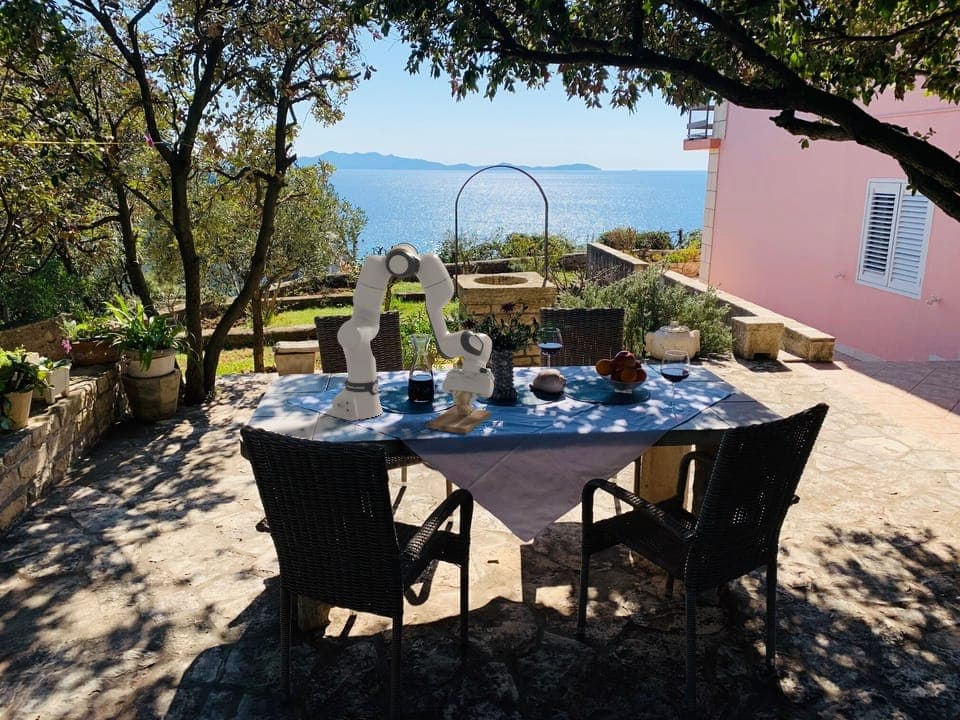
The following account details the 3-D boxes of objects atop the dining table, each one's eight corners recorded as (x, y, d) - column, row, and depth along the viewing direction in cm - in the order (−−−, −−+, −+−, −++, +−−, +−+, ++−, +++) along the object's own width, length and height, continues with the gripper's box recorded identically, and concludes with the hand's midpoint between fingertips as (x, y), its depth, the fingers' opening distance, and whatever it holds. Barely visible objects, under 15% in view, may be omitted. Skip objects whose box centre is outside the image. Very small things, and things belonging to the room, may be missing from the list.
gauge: (457, 414, 263) (454, 396, 259) (461, 409, 265) (458, 391, 262) (470, 415, 260) (467, 397, 257) (474, 410, 263) (471, 392, 260)
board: (427, 428, 254) (427, 423, 253) (453, 411, 272) (453, 406, 272) (466, 434, 247) (466, 428, 247) (490, 416, 266) (490, 410, 265)
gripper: (445, 365, 268) (434, 397, 262) (493, 370, 259) (483, 403, 253) (451, 374, 273) (440, 404, 267) (498, 379, 265) (488, 410, 258)
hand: (461, 403), depth 260 cm, fingers closed on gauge, 5 cm apart
